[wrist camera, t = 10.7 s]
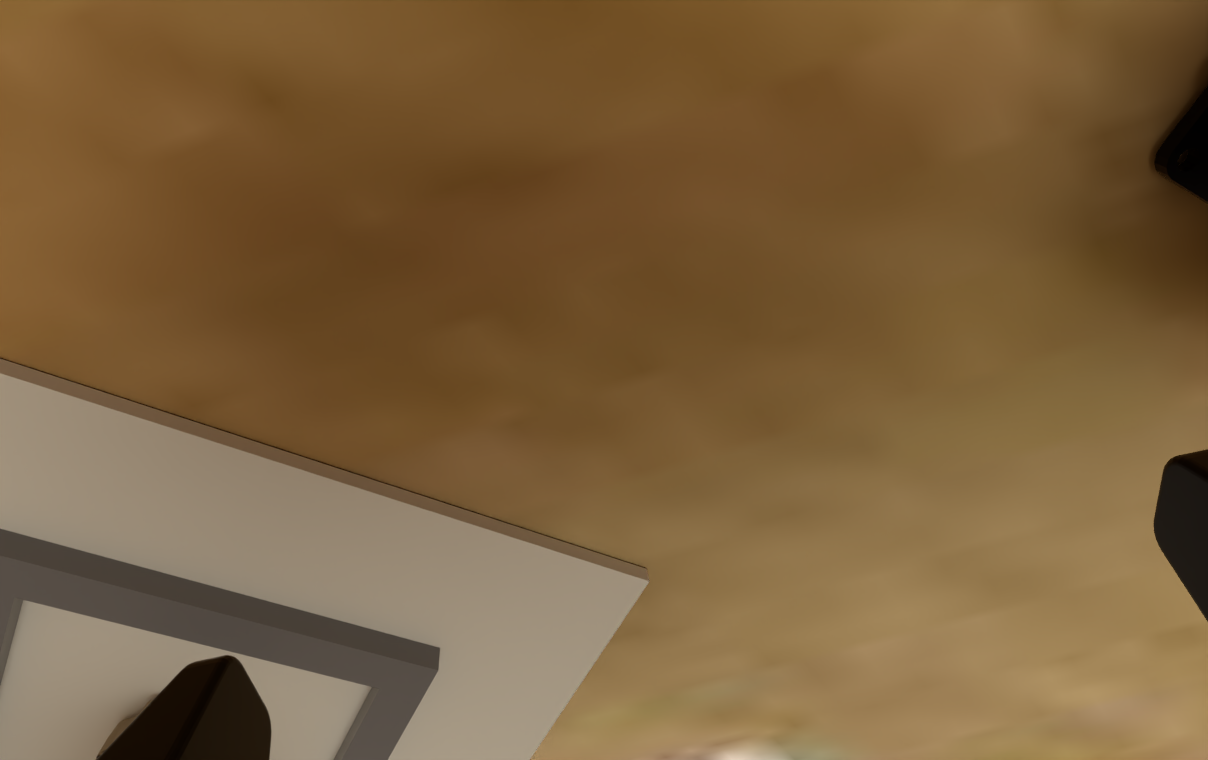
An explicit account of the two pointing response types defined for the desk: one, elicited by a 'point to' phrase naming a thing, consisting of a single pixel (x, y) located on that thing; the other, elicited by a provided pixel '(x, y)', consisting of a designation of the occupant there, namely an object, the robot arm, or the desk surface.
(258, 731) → the robot arm
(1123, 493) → the desk surface
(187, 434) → the socket plate
